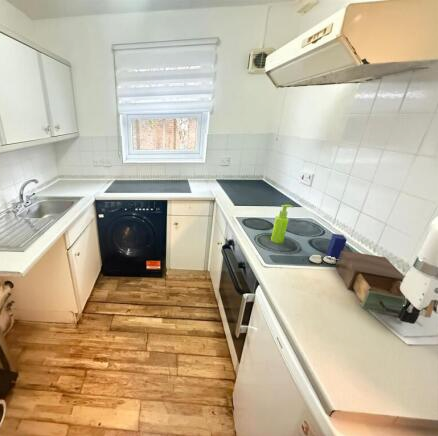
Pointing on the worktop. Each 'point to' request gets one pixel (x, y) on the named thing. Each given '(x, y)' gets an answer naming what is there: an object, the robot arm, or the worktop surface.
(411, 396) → the worktop surface
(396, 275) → the cabinet
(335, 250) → the box
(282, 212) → the soap dispenser
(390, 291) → the drawer
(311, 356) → the worktop surface
